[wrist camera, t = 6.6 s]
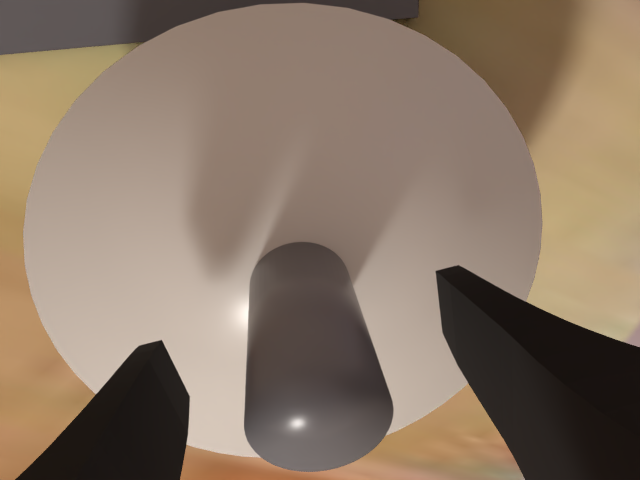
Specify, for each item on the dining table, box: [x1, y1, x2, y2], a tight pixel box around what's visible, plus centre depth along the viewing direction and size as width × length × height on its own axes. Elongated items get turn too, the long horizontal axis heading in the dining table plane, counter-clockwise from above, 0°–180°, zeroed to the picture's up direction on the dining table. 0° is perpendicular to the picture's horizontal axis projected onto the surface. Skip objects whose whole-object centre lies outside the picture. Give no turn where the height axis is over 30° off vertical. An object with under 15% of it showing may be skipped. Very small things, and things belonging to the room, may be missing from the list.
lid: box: [23, 3, 542, 472], centre depth 11 cm, size 15×15×6 cm
